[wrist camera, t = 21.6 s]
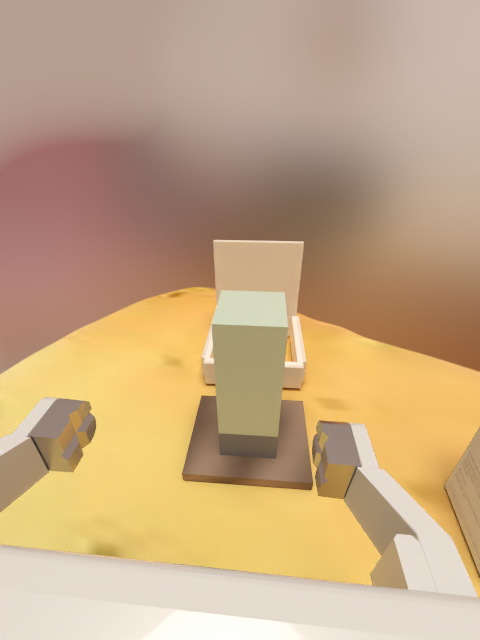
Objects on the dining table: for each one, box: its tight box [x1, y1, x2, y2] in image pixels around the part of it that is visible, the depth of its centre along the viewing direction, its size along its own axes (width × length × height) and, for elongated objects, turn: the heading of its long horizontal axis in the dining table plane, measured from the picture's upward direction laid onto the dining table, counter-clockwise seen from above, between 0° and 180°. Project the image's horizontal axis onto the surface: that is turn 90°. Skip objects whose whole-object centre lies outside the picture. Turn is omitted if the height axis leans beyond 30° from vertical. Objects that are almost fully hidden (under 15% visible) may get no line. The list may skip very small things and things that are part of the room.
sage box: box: [212, 290, 288, 459], centre depth 26 cm, size 5×5×14 cm
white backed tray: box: [201, 240, 306, 389], centre depth 37 cm, size 12×12×14 cm
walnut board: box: [182, 396, 313, 490], centre depth 30 cm, size 11×9×1 cm
